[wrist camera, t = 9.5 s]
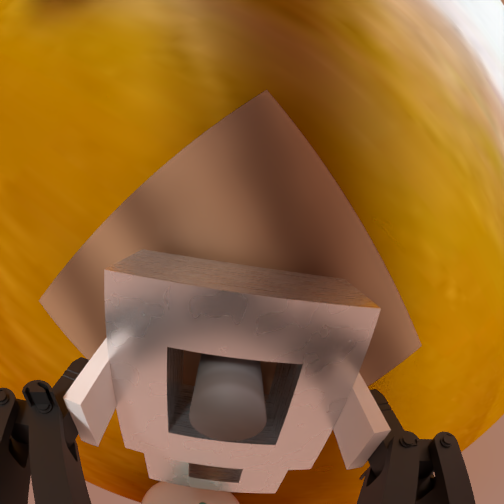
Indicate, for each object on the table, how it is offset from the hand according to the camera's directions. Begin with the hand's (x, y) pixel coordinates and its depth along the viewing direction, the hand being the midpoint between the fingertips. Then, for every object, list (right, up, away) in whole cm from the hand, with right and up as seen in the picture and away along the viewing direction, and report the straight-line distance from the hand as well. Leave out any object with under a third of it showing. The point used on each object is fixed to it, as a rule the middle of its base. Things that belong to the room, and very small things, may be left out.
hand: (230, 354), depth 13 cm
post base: (0, +1, +3) cm, 3 cm away
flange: (-1, -4, +1) cm, 4 cm away
